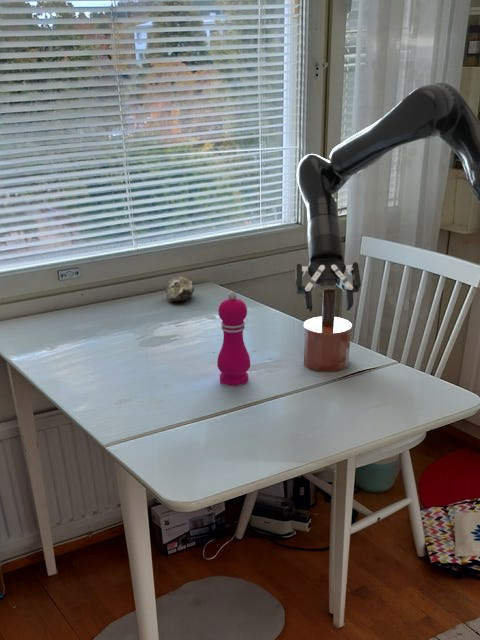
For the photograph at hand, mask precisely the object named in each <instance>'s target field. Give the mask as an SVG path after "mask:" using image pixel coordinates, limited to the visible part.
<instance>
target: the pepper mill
mask: <svg viewBox="0 0 480 640" xmlns="http://www.w3.org/2000/svg"><path fill="white" fill-rule="evenodd" d="M227 297H228V298H226V299H224V300H223V301H221V302H220V304H219V305H218V309H217V310H218V312H217V313H218V317H219V318H220V320H221V322H220V325H221V326H220V328H221V330H222V333H223V338H222V339H223V340H222V344H221V348H220V351H219V353H218V356H217V362H216V366H217V369H218V370H219V371H220V372H221V373H220V374H219V383H220V385H226V386H231V387H236V386H242V385H245V384H247V383H248V382H249V373H248V371H249V369H250V368H251V357H250V354H249V352H248V349H247V347H246V345H245V341H244V333H243V332H244V330H245V329H246V326H245V325H246V322H245V321H244V320H245V319H246V317H247V316H248V308H247V305H246V303H245V301H243V300H241V299H240V298H237V297H238V295H237V293H236V291H232V290H231V291H229V292H228V295H227Z"/></svg>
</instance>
